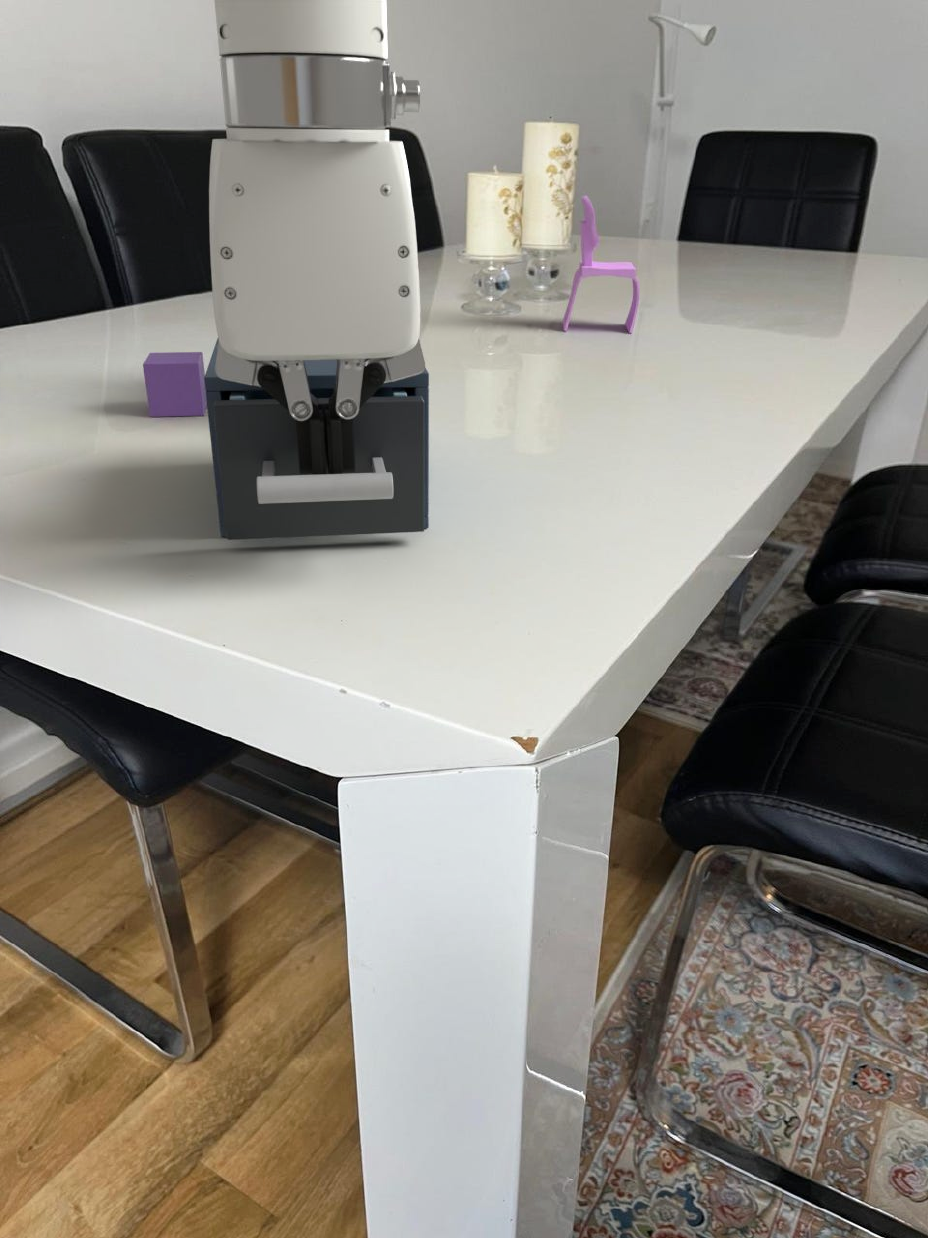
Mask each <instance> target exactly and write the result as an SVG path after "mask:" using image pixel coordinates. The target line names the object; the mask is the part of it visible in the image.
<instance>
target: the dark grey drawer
mask: <svg viewBox="0 0 928 1238" xmlns="http://www.w3.org/2000/svg"><path fill="white" fill-rule="evenodd" d="M310 390H311V394H312V395H313V396H314V397H316V398H317V399H318V407H319V410H322V415H323V423H324V440H325V458H326V474H321V475H313V474H300V471H299V456H298V442H297V427H296V419H294V418H293V417H292V416H291V414H290V412H289V411H288V410H287V409H286V408H285V407H283V406H282V405H281V404H280V403H279V402H278V401H277V400H276V399H274V398H273V397H272V396H271V395H270V394H269V393H268V392H266V391H265V390H247V391H231V395H230V400H216V401H215V403H214V407H213V408H214V418H215V427H216V437H217V447H218V457H219V467H220V476H221V486H222V496H223V506H224V516H225V525H226V535H227V537H226V540H227V541H234V540H236V541H237V540H257V539H260V540H261V539H281V538H304V537H305V538H306V537H307V538H308V537H330V536H332V537H333V536H350V535H351V536H353V535H374V534H375V535H376V534H377V535H378V534H400V533H422V532H425V528H424V401H423V398H422V396H407V394H406V391H405V389H404V387H396V388H379V389H378V390H377V391H376V392H375V393H374V394H373V395H372V396H371V397H370V398H369V399H368V400H367V401H366V402H365V403H364V405H363V406H362V407H361V408H360V409H359V411H358V414H357V415H356V416H355V417H354V418H353V427H354V451H355V472H343V474H328V458H327V440H326V422H325V410H328V405H329V403H328V399H329V398H330V397H331V396H332V395H333V394H334V389H310Z"/></svg>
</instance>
